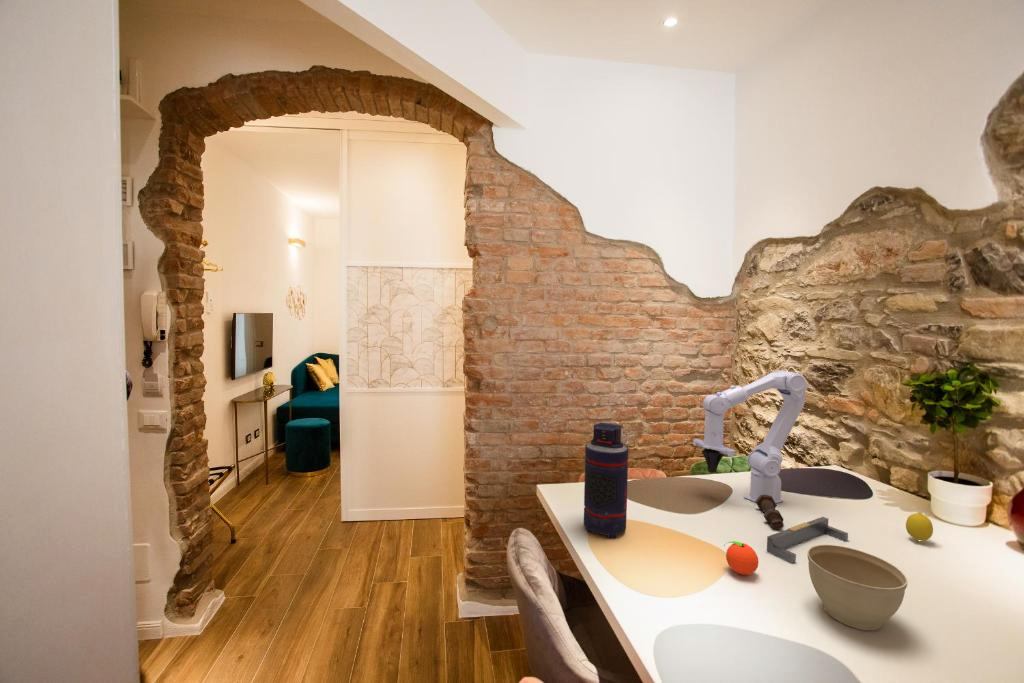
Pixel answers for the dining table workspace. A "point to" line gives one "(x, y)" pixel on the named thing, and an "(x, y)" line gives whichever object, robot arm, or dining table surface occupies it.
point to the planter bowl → (856, 585)
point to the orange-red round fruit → (742, 558)
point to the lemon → (919, 526)
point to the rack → (800, 537)
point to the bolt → (770, 511)
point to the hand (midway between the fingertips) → (712, 471)
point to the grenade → (606, 481)
